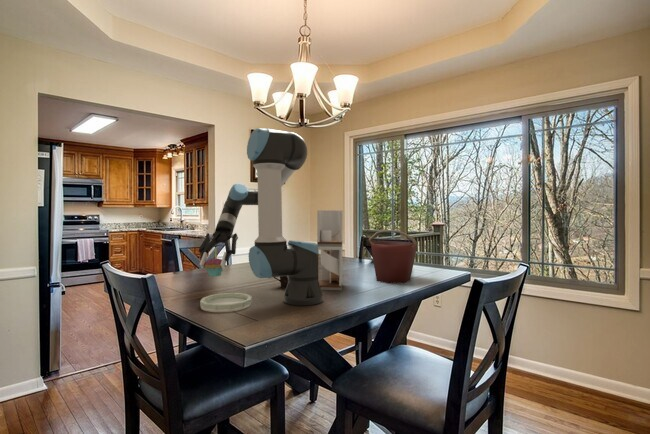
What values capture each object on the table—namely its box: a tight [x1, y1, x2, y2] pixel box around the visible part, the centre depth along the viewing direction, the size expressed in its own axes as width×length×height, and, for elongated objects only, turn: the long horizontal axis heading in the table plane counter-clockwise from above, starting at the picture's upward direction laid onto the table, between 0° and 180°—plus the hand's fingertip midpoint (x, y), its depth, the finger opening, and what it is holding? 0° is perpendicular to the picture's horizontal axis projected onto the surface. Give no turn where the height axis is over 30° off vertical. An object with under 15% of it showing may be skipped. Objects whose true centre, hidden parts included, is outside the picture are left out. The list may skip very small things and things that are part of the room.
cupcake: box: [204, 247, 226, 277], centre depth 146 cm, size 9×8×12 cm
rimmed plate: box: [199, 292, 252, 313], centre depth 130 cm, size 18×18×2 cm
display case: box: [316, 209, 344, 291], centre depth 161 cm, size 11×11×35 cm
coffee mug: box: [273, 276, 288, 289], centre depth 162 cm, size 12×9×10 cm
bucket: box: [368, 229, 418, 284], centre depth 178 cm, size 24×22×25 cm
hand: (211, 266), depth 143 cm, fingers closed on cupcake, 8 cm apart
